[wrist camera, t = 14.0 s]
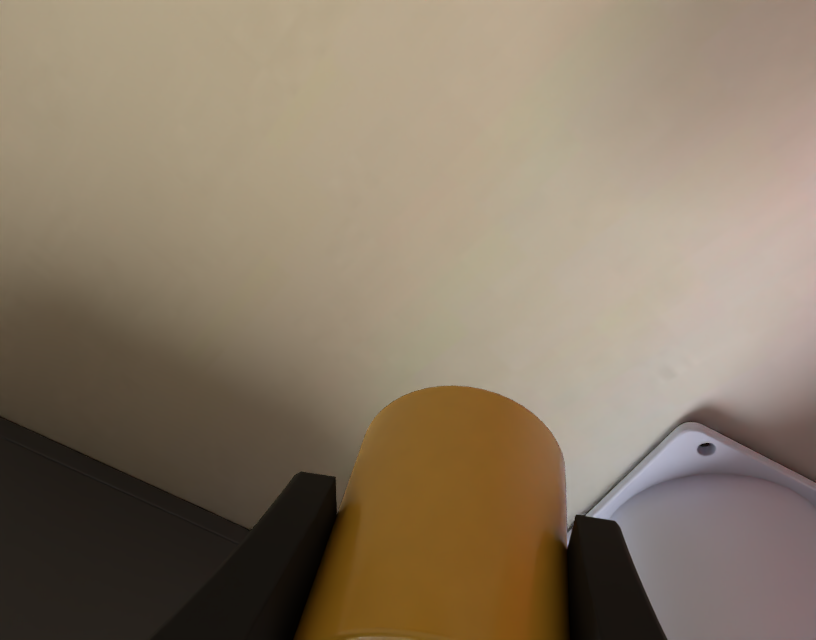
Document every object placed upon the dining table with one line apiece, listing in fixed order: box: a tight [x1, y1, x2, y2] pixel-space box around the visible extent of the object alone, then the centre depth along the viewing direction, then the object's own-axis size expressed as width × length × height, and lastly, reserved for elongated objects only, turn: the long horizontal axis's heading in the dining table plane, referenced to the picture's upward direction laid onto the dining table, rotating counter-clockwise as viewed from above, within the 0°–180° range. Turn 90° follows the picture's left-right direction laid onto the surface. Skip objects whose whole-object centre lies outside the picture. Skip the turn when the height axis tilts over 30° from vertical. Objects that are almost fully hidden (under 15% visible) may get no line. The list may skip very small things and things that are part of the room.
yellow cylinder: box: [293, 386, 570, 640], centre depth 11 cm, size 4×4×5 cm
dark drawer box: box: [0, 417, 250, 640], centre depth 26 cm, size 14×12×9 cm
